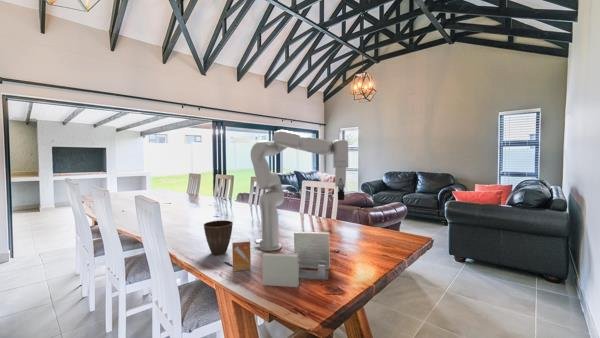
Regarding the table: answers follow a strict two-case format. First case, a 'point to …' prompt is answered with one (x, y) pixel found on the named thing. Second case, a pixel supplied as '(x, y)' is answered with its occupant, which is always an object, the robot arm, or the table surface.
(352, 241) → the table surface
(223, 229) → the plant pot
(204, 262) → the table surface
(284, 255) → the door panel
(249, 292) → the table surface
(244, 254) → the small box
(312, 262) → the white boxy piece
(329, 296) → the table surface
